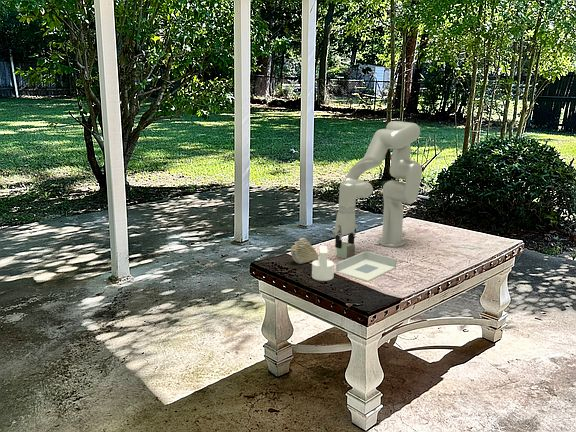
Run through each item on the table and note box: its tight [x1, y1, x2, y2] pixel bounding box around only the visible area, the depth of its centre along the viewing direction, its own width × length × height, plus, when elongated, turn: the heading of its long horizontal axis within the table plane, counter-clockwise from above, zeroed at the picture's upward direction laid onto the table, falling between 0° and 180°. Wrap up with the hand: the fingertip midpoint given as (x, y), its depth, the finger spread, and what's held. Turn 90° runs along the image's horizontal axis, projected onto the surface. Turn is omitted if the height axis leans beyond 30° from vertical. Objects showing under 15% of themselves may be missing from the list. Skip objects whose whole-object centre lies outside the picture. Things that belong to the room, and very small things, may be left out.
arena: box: [335, 250, 398, 283], centre depth 233 cm, size 22×16×4 cm
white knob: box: [311, 245, 335, 282], centre depth 224 cm, size 9×9×12 cm
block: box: [335, 241, 356, 259], centre depth 249 cm, size 5×7×6 cm, turn 48°
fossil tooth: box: [289, 237, 319, 265], centre depth 242 cm, size 12×6×15 cm
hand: (344, 245), depth 248 cm, fingers open, 9 cm apart
